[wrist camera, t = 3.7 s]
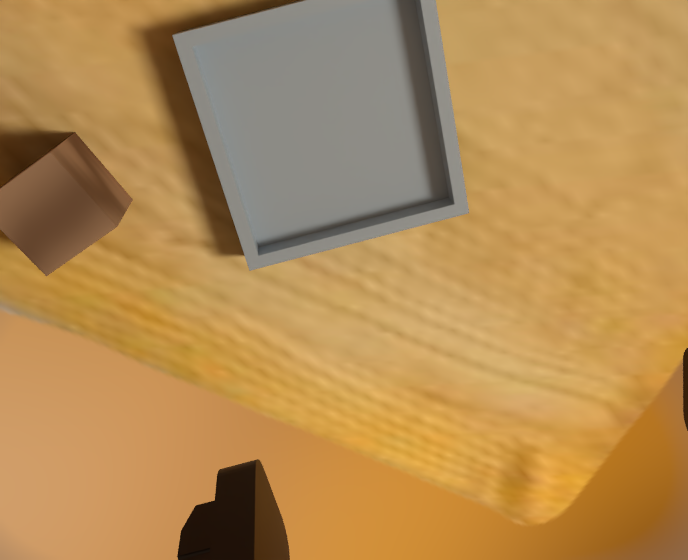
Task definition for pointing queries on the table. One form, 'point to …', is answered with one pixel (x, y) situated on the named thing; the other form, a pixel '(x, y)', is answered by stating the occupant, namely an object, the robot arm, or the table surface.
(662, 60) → the table surface
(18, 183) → the walnut block
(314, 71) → the tray
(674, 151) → the table surface
